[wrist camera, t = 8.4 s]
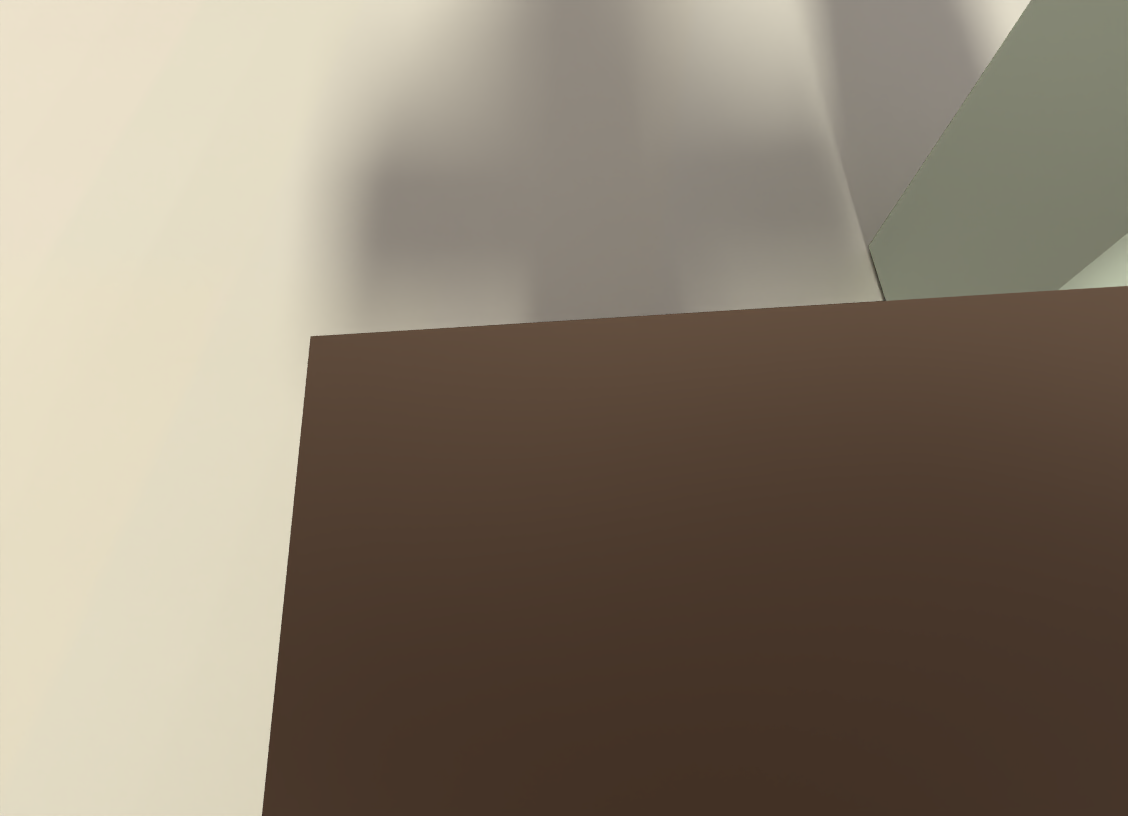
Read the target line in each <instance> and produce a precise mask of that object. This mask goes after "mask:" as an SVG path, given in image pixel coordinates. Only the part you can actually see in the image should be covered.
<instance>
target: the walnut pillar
mask: <svg viewBox="0 0 1128 816" xmlns="http://www.w3.org/2000/svg"><path fill="white" fill-rule="evenodd" d="M262 816H1128V286H1117V287H1101V288H1085V289H1069V290H1053V291H1037V292H1021V293H1004V294H988V295H972V296H956V297H940V298H924V299H908V300H891V301H875V302H859V303H843V304H827V305H811V306H795V307H779V308H762V309H746V310H730V311H714V312H698V313H682V314H666V315H649V316H633V317H617V318H601V319H585V320H569V321H553V322H537V323H520V324H504V325H488V326H472V327H456V328H440V329H424V330H407V331H391V332H375V333H359V334H343V335H327V336H311V338H310V348H309V358H308V368H307V378H306V387H305V397H304V407H303V417H302V427H301V437H300V447H299V456H298V466H297V476H296V486H295V496H294V506H293V516H292V525H291V535H290V545H289V555H288V565H287V575H286V584H285V594H284V604H283V614H282V624H281V634H280V644H279V653H278V663H277V673H276V683H275V693H274V703H273V713H272V722H271V732H270V742H269V752H268V762H267V772H266V782H265V791H264V801H263V811H262Z"/></svg>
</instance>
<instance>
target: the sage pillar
mask: <svg viewBox="0 0 1128 816" xmlns="http://www.w3.org/2000/svg"><path fill="white" fill-rule="evenodd" d="M869 249H870V252H871V255H872V259H873V262H874V265H875V268H876V271H877V274H878V277H879V281H880V284H881V287H882V290H883V293H884V296H885V299H886V301H891V300H908V299H924V298H940V297H956V296H972V295H988V294H1004V293H1021V292H1037V291H1053V290H1069V289H1085V288H1101V287H1117V286H1128V0H1031V1H1030V3H1029V4H1028V6H1027V7H1026V9H1025V10H1024V12H1023V13H1022V15H1021V16H1020V18H1019V19H1018V21H1017V22H1016V24H1015V25H1014V27H1013V28H1012V30H1011V31H1010V33H1009V35H1008V36H1007V38H1006V39H1005V41H1004V42H1003V44H1002V45H1001V47H1000V48H999V50H998V51H997V53H996V54H995V56H994V57H993V59H992V60H991V62H990V63H989V65H988V66H987V68H986V69H985V71H984V72H983V74H982V75H981V77H980V78H979V80H978V81H977V83H976V84H975V86H974V87H973V89H972V90H971V92H970V94H969V95H968V97H967V98H966V100H965V101H964V103H963V104H962V106H961V107H960V109H959V110H958V112H957V113H956V115H955V116H954V118H953V119H952V121H951V122H950V124H949V125H948V127H947V128H946V130H945V131H944V133H943V134H942V136H941V137H940V139H939V140H938V142H937V143H936V145H935V146H934V148H933V150H932V151H931V153H930V154H929V156H928V157H927V159H926V160H925V162H924V163H923V165H922V166H921V168H920V169H919V171H918V172H917V174H916V175H915V177H914V178H913V180H912V181H911V183H910V184H909V186H908V187H907V189H906V190H905V192H904V193H903V195H902V196H901V198H900V199H899V201H898V202H897V204H896V205H895V207H894V209H893V210H892V212H891V213H890V215H889V216H888V218H887V219H886V221H885V222H884V224H883V225H882V227H881V228H880V230H879V231H878V233H877V234H876V236H875V237H874V239H873V240H872V242H871V243H870V245H869Z"/></svg>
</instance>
